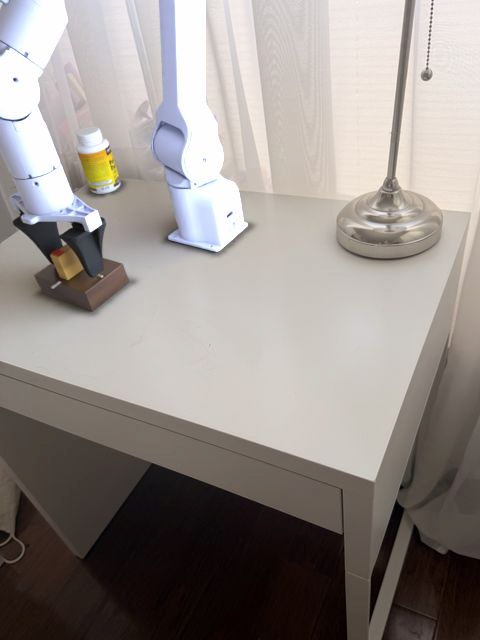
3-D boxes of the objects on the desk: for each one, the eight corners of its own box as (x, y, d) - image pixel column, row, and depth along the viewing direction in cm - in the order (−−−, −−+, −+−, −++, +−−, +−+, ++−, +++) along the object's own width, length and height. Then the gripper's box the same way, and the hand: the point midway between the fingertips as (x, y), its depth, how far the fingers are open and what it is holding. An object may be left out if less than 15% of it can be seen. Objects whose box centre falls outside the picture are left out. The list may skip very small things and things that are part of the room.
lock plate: (134, 277, 75) (128, 258, 72) (86, 316, 69) (78, 296, 67) (85, 262, 79) (77, 243, 77) (36, 297, 74) (26, 278, 72)
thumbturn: (87, 258, 74) (78, 234, 71) (95, 260, 73) (86, 236, 71) (59, 277, 71) (48, 253, 69) (68, 280, 70) (57, 256, 68)
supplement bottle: (122, 191, 96) (104, 133, 89) (91, 198, 95) (70, 140, 88) (120, 178, 100) (103, 122, 93) (90, 185, 99) (71, 128, 92)
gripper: (-30, 174, 64) (19, 270, 73) (49, 193, 57) (92, 296, 66) (18, 150, 68) (58, 244, 77) (97, 165, 61) (131, 266, 70)
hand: (77, 266), depth 72 cm, fingers open, 7 cm apart
